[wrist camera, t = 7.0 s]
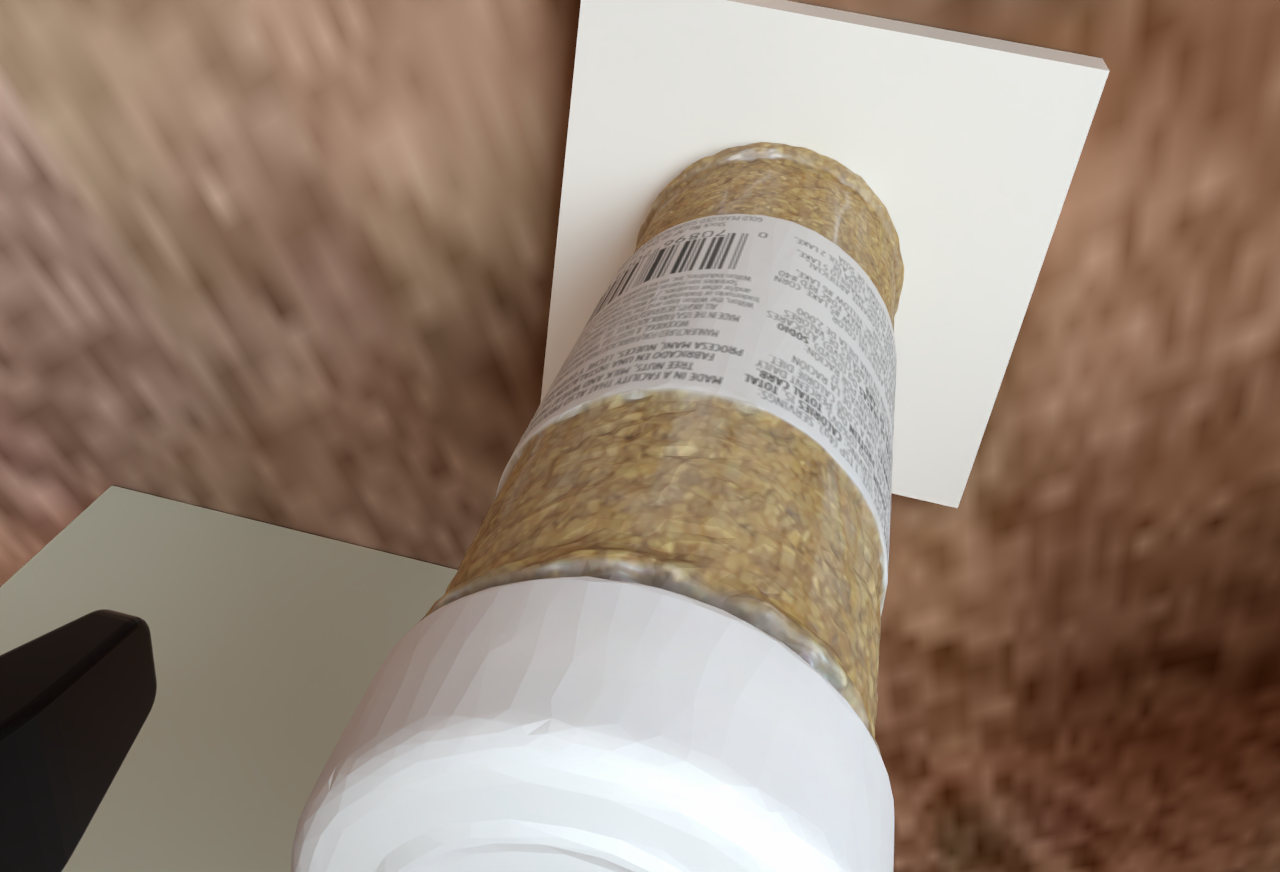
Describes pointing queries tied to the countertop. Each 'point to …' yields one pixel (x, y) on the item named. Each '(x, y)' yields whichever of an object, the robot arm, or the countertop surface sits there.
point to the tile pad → (861, 141)
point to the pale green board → (221, 669)
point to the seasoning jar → (665, 572)
